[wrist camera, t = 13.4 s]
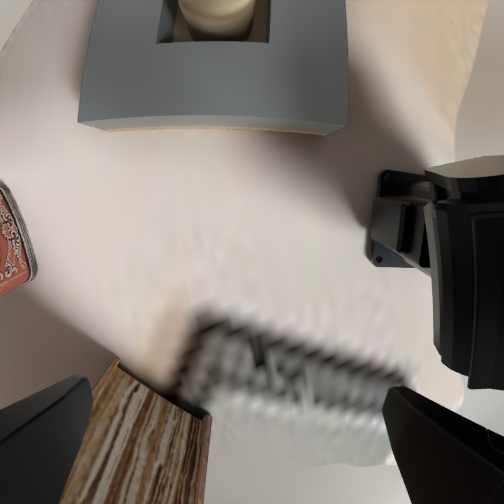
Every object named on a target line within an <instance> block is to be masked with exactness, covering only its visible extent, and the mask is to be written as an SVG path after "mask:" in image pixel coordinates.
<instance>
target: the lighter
mask: <svg viewBox="0 0 504 504" xmlns="http://www.w3.org/2000/svg"><path fill="white" fill-rule="evenodd" d="M37 272H38V265H37V261H36V257H35V254H34V250H33V246H32V243H31V240H30V237H29V234H28V231H27V227H26V224H25V222H24V220H23V217H22V215H21V212H20V210H19V207H18V205H17V203H16V201H15V199H14V197H13V195H12V193H11V191H10V190H9V188H8V187H6V186H0V296H2V295H4V294H5V293H7V292H9V291H10V290H12V289H14V288H15V287H17V286H19V285H20V284H22V285H23V284H27V283H28V282H30V281H32V280H33V279H34V278H35V277H36V275H37Z"/></svg>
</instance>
